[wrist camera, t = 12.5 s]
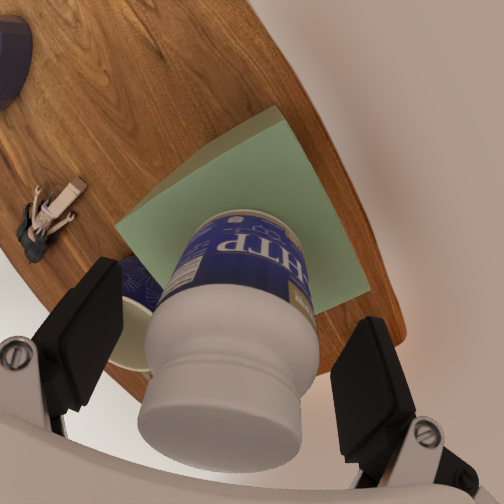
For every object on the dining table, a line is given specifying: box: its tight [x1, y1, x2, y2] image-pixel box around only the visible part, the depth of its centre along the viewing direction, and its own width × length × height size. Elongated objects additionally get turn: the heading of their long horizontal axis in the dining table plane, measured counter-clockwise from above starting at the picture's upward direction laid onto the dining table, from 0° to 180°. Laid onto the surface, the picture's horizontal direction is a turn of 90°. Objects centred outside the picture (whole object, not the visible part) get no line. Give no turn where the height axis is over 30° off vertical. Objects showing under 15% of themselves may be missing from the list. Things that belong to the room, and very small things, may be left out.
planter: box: [108, 255, 164, 372], centre depth 37 cm, size 12×12×11 cm
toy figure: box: [16, 177, 87, 263], centre depth 35 cm, size 7×6×15 cm
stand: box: [114, 105, 370, 315], centre depth 24 cm, size 9×9×22 cm
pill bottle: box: [138, 209, 319, 473], centre depth 10 cm, size 5×5×9 cm
